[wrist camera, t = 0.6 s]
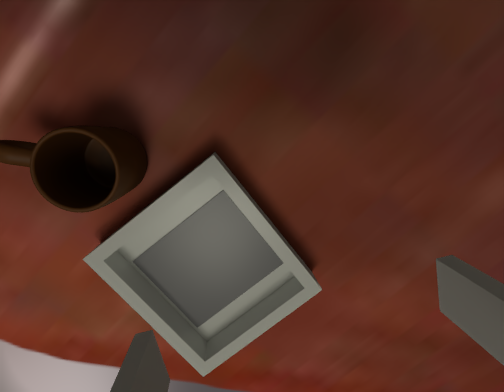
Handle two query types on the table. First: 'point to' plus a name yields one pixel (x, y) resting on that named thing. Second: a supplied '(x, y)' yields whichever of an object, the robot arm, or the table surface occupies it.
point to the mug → (80, 165)
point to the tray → (205, 267)
